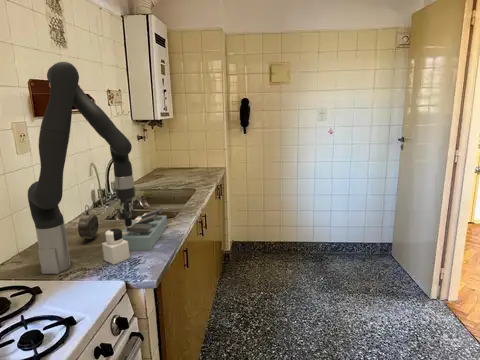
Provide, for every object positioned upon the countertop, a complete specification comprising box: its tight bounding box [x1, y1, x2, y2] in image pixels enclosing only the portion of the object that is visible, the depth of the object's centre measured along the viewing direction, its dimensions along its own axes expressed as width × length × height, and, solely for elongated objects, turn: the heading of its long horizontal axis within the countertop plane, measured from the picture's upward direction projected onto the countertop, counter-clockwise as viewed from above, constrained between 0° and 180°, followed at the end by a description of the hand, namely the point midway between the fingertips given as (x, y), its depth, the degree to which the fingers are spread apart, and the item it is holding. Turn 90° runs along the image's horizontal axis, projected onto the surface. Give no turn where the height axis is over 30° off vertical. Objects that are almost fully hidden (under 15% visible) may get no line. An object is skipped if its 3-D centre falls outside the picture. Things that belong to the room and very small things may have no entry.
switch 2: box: [126, 224, 152, 232], centre depth 144 cm, size 5×9×2 cm, turn 87°
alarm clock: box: [77, 204, 99, 244], centre depth 153 cm, size 11×5×16 cm, turn 177°
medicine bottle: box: [101, 228, 131, 265], centre depth 133 cm, size 7×7×12 cm
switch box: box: [122, 215, 168, 251], centre depth 154 cm, size 27×14×7 cm, turn 177°
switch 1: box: [135, 214, 158, 224], centre depth 153 cm, size 5×9×2 cm, turn 87°
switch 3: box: [141, 207, 164, 219], centre depth 162 cm, size 5×9×2 cm, turn 87°
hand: (128, 225), depth 144 cm, fingers closed
